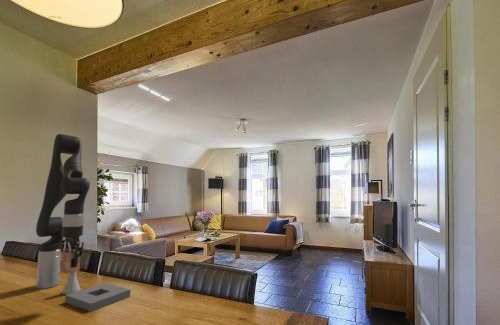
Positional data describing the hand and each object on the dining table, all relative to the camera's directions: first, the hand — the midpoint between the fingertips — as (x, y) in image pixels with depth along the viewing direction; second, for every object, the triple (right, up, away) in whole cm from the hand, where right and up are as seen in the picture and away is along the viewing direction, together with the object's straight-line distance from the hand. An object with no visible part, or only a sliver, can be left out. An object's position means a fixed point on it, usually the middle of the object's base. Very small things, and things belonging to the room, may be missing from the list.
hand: (70, 266), depth 117 cm
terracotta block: (0, -2, 0) cm, 2 cm away
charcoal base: (+9, -16, +4) cm, 19 cm away
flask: (-8, -17, +13) cm, 23 cm away
